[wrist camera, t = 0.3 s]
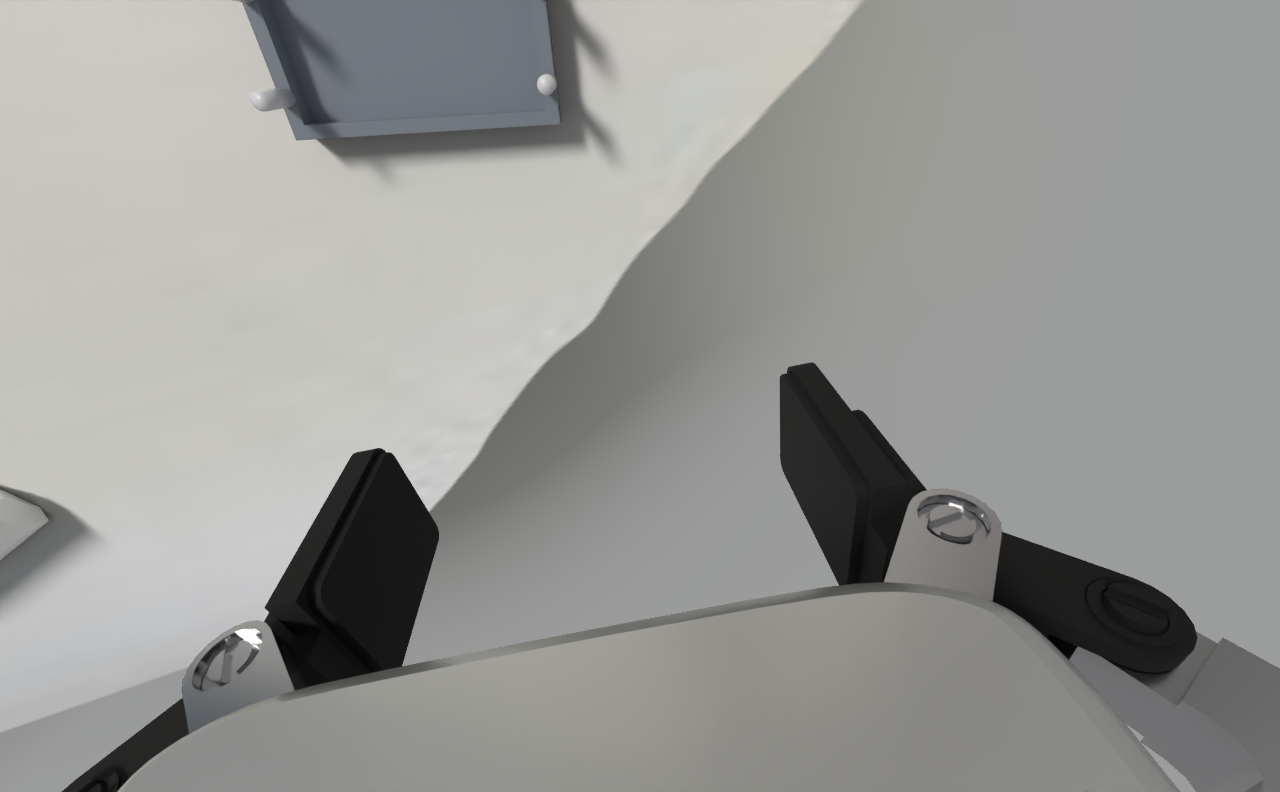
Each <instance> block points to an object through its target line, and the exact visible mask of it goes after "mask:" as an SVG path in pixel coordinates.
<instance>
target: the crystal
mask: <svg viewBox="0 0 1280 792" xmlns="http://www.w3.org/2000/svg"><path fill="white" fill-rule="evenodd" d="M48 521H49V520H48V518H47V517H46V515H45V514H44V513H43V511H42V510H41V508H40V507H38V506H36V505H34V504H32V503H30V502H28V501H25V500H23V499H21V498H19V497H17V496H15V495H12V494H10V493H8V492H6V491H4V490H2V489H0V560H1V559H2V558H4V557H5V556H6V555H7V554H9V553H10V552H11V551H12V550H13V549H15V548H16V547H17V546H18V545H20V544H21V543H22V542H23V541H25V540H26V539H27V538H28V537H30V536H31V535H32V534H33V533H35V532H36V531H37V530H38V529H39V528H41V527H42V526H43V525H44V524H46V523H47V522H48Z"/></svg>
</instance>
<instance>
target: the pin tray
mask: <svg viewBox="0 0 1280 792" xmlns="http://www.w3.org/2000/svg"><path fill="white" fill-rule="evenodd" d="M234 1H240V2H242V3H243V6H244V8H245V11H246V13H247V16H248V18H249V21H250V23H251V26H252V29H253V31H254V34H255V36H256V39H257V41H258V44H259V46H260V49H261V51H262V54H263V57H264V59H265V62H266V64H267V67H268V69H269V72H270V74H271V77H272V80H273V82H274V85H275V87H276V89H267V90H257V91H253V92H252V93H251V94H250V100H251V103H252V104H253V106H254V107H255V108H256V109H258V110H260V111H271V110H276V109H282V108H284V110H285V113H286V115H287V118H288V120H289V123H290V125H291V128H292V130H293V133H294V136H295V138H296V140H311V139H327V138H344V137H360V136H376V135H393V134H409V133H426V132H442V131H458V130H475V129H491V128H508V127H524V126H540V125H557V124H560V123H561V116H560V107H559V99H558V90H557V81H556V73H555V65H554V57H553V48H552V40H551V31H550V23H549V14H548V6H547V0H234Z"/></svg>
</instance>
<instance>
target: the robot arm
mask: <svg viewBox="0 0 1280 792" xmlns="http://www.w3.org/2000/svg"><path fill="white" fill-rule="evenodd" d="M780 459H781V465H782V469H783V472H784V474H785V476H786V478H787V480H788V482H789V484H790V486H791V488H792V490H793V492H794V494H795V496H796V498H797V501H798V503H799V504H800V507H801V509H802V511H803V513H804V515H805V517H806V519H807V521H808V523H809V525H810V527H811V529H812V531H813V533H814V535H815V537H816V539H817V541H818V543H819V545H820V547H821V549H822V551H823V553H824V555H825V557H826V559H827V561H828V563H829V565H830V568H831V569H832V572H833V573H834V576H835V577H836V580H837V582H838V584H839V586H833V587H825V588H817V589H812V590H805V591H800V592H794V593H788V594H782V595H776V596H770V597H765V598H758V599H753V600H746V601H741V602H736V603H731V604H725V605H720V606H714V607H709V608H704V609H698V610H693V611H688V612H682V613H677V614H671V615H666V616H661V617H655V618H650V619H645V620H639V621H634V622H629V623H623V624H618V625H613V626H608V627H603V628H597V629H592V630H587V631H582V632H576V633H571V634H566V635H561V636H556V637H550V638H545V639H540V640H535V641H530V642H525V643H520V644H514V645H509V646H504V647H499V648H494V649H489V650H483V651H478V652H473V653H469V654H463V655H458V656H454V657H448V658H443V659H438V660H433V661H428V662H423V663H418V664H413V665H408V666H403V667H402V664H403V661H404V657H405V654H406V650H407V647H408V643H409V640H410V637H411V633H412V629H413V626H414V623H415V619H416V616H417V613H418V609H419V606H420V602H421V599H422V595H423V592H424V588H425V585H426V581H427V578H428V575H429V571H430V568H431V565H432V561H433V558H434V554H435V551H436V547H437V543H438V540H439V531H438V527H437V525H436V523H435V522H434V520H433V519H432V517H431V515H430V514H429V512H428V510H427V509H426V507H425V505H424V504H423V502H422V500H421V499H420V497H419V496H418V494H417V492H416V491H415V489H414V487H413V486H412V484H411V482H410V481H409V479H408V478H407V476H406V474H405V473H404V471H403V469H402V468H401V466H400V464H399V463H398V461H397V460H396V458H395V456H394V455H393V454H392V453H389V452H388V453H386V452H385V450H383V449H381V448H377V449H372V450H367V451H362V452H357V453H354V454H353V455H352V456H351V458H350V459H349V461H348V463H347V465H346V466H345V468H344V470H343V472H342V473H341V475H340V477H339V479H338V480H337V482H336V484H335V486H334V487H333V489H332V491H331V493H330V494H329V496H328V498H327V500H326V501H325V503H324V505H323V507H322V508H321V510H320V512H319V514H318V515H317V517H316V519H315V521H314V522H313V524H312V526H311V527H310V529H309V531H308V533H307V534H306V536H305V538H304V540H303V541H302V543H301V545H300V547H299V548H298V550H297V552H296V554H295V555H294V557H293V559H292V561H291V562H290V564H289V566H288V568H287V569H286V571H285V573H284V575H283V576H282V578H281V580H280V582H279V583H278V585H277V587H276V589H275V590H274V592H273V594H272V596H271V597H270V599H269V601H268V603H267V604H266V606H265V609H266V610H267V611H268V612H269V614H268V616H267V617H266V619H265V621H264V622H261V621H249V622H245V623H242V624H240V625H237V626H234V627H233V628H231V629H229V630H227V631H226V632H224V633H222V634H221V635H219V636H218V637H217V638H216V639H214V640H213V641H212V642H210V643H209V644H208V645H207V646H206V647H205V648H204V649H203V650H202V651H201V652H200V653H199V654H198V655H197V656H196V658H195V659H194V661H193V662H192V663H191V665H190V666H189V668H188V669H187V671H186V674H185V676H184V678H183V681H182V695H183V698H182V699H180V700H179V701H178V702H177V703H175V704H174V705H173V706H171V707H170V708H169V709H167V710H166V711H165V712H163V713H162V714H161V715H160V716H158V717H157V718H156V719H154V720H153V721H152V722H150V723H149V724H148V725H146V726H145V727H144V728H143V729H142V730H140V731H139V732H137V733H136V734H135V735H134V736H132V737H131V738H130V739H128V740H127V741H126V742H124V743H123V744H122V745H121V746H119V747H118V748H116V749H115V750H114V751H113V752H111V753H110V754H109V755H107V756H106V757H105V758H104V759H102V760H101V761H100V762H98V763H97V764H96V765H94V766H93V767H92V768H90V769H89V770H88V771H87V772H85V773H84V774H83V775H82V776H80V777H79V778H77V779H76V780H75V781H74V782H73V783H71V784H70V785H69V786H68V787H67V788H66V789H64V790H63V791H62V792H1180V791H1179V790H1178V788H1177V787H1176V786H1175V785H1174V783H1173V782H1172V781H1171V780H1170V778H1169V777H1168V776H1167V775H1166V773H1165V772H1164V771H1163V770H1162V768H1161V767H1160V766H1159V765H1158V764H1157V762H1156V761H1155V760H1154V759H1153V757H1152V756H1151V755H1150V754H1149V752H1148V751H1147V750H1146V749H1145V747H1144V746H1143V745H1142V744H1141V743H1140V741H1139V740H1138V739H1137V738H1136V736H1135V735H1134V734H1133V733H1132V731H1131V730H1130V729H1129V728H1128V727H1127V725H1129V726H1130V727H1132V728H1133V729H1134V730H1136V731H1137V732H1138V733H1140V734H1141V735H1143V736H1144V737H1143V739H1142V740H1141V742H1142V743H1143V744H1145V745H1146V746H1148V747H1149V748H1150V749H1152V750H1153V751H1154V752H1156V753H1157V754H1159V755H1160V756H1161V757H1163V758H1164V759H1165V760H1167V761H1168V762H1169V763H1170V764H1171V765H1173V766H1174V767H1175V768H1176V769H1177V770H1178V771H1179V772H1180V773H1181V774H1183V775H1184V776H1185V777H1186V778H1187V780H1188V781H1189V782H1190V784H1191V785H1192V786H1193V788H1194V789H1195V791H1196V792H1280V669H1279V668H1278V667H1276V666H1274V665H1272V664H1270V663H1268V662H1267V661H1265V660H1263V659H1261V658H1259V657H1257V656H1256V655H1254V654H1252V653H1250V652H1248V651H1246V650H1245V649H1243V648H1241V647H1239V646H1237V645H1235V644H1234V643H1232V642H1230V641H1228V640H1226V639H1224V638H1222V639H1221V640H1220V641H1219V642H1218V643H1215V642H1214V641H1212V640H1210V639H1208V638H1207V637H1205V636H1203V635H1201V634H1199V633H1198V632H1196V631H1195V627H1194V624H1193V623H1192V621H1191V620H1190V619H1189V617H1188V616H1187V614H1186V613H1185V611H1184V610H1183V609H1182V608H1180V607H1179V606H1178V605H1177V604H1176V603H1175V602H1174V601H1173V600H1172V599H1171V598H1169V597H1168V596H1166V595H1165V594H1163V593H1162V592H1160V591H1159V590H1157V589H1155V588H1154V587H1152V586H1150V585H1148V584H1146V583H1143V582H1141V581H1139V580H1137V579H1134V578H1132V577H1129V576H1126V575H1123V574H1120V573H1117V572H1115V571H1112V570H1109V569H1106V568H1103V567H1100V566H1098V565H1094V564H1092V563H1089V562H1086V561H1083V560H1080V559H1078V558H1075V557H1072V556H1069V555H1066V554H1063V553H1061V552H1057V551H1055V550H1052V549H1049V548H1046V547H1044V546H1041V545H1038V544H1035V543H1032V542H1029V541H1027V540H1024V539H1021V538H1018V537H1015V536H1012V535H1010V534H1007V533H1003V532H1002V529H1001V522H1000V521H999V519H998V517H997V515H996V514H995V512H994V511H993V510H992V509H991V508H990V507H988V506H987V504H985V503H984V502H982V501H980V500H979V499H977V498H975V497H974V496H972V495H969V494H966V493H963V492H961V491H957V490H951V489H930V490H926V488H925V487H924V486H923V485H922V483H921V482H920V481H919V480H918V478H917V477H916V476H915V475H914V474H913V472H912V471H911V470H910V469H909V467H908V466H907V465H906V464H905V462H904V461H903V460H902V459H901V458H900V456H899V455H898V454H897V452H896V451H895V450H894V449H893V447H892V446H891V445H890V444H889V442H888V441H887V440H886V439H885V438H884V436H883V435H882V434H881V433H880V431H879V430H878V429H877V427H876V426H875V425H874V424H873V423H872V421H871V420H870V419H869V418H868V416H867V415H866V414H865V413H864V412H863V411H860V410H854V411H851V410H850V408H849V407H848V406H847V405H846V403H845V402H844V401H843V400H842V398H841V397H840V395H839V394H838V393H837V392H836V390H835V389H834V388H833V386H832V385H831V384H830V382H829V381H828V380H827V379H826V377H825V376H824V375H823V373H822V372H821V371H820V370H819V368H818V367H817V366H816V365H815V364H814V363H807V364H801V365H796V366H792V367H789V368H788V370H787V374H782V375H781V376H780ZM1125 723H1126V724H1127V725H1126V724H1125Z"/></svg>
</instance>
